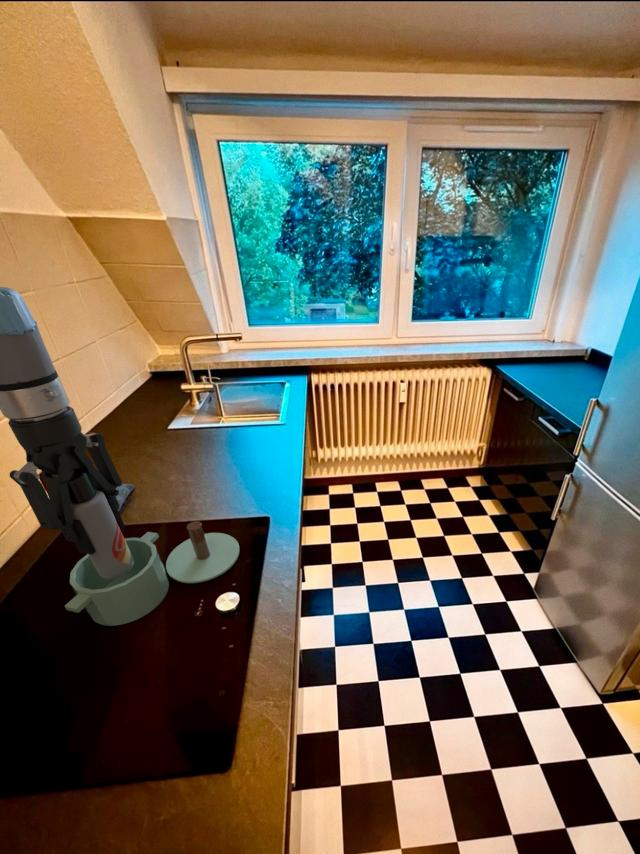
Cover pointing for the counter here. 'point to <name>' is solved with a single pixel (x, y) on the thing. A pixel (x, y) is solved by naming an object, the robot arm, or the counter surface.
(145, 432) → the counter surface
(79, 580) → the pot
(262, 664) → the counter surface
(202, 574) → the lid
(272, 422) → the counter surface
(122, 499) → the packaged food
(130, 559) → the lotion bottle
